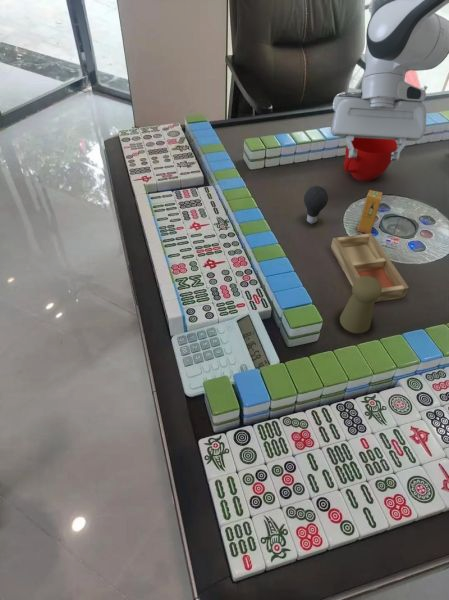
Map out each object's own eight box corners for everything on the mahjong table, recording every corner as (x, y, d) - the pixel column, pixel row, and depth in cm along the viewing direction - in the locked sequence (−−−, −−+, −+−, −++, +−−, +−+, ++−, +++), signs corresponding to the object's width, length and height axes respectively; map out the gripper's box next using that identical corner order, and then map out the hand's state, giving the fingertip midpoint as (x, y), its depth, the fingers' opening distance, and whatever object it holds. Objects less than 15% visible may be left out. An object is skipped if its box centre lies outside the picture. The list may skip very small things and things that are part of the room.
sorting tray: (368, 242, 102) (371, 232, 100) (404, 297, 90) (409, 287, 88) (330, 247, 101) (332, 237, 98) (362, 304, 89) (365, 294, 86)
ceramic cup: (321, 178, 120) (328, 145, 113) (358, 158, 128) (366, 125, 120) (359, 199, 114) (369, 164, 106) (395, 176, 121) (407, 142, 114)
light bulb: (326, 220, 107) (334, 186, 100) (316, 232, 104) (323, 197, 97) (306, 213, 110) (312, 178, 102) (295, 224, 106) (301, 189, 99)
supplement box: (372, 227, 106) (384, 192, 98) (369, 235, 104) (381, 200, 96) (359, 223, 107) (369, 188, 99) (356, 231, 105) (366, 196, 97)
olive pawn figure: (336, 310, 87) (348, 271, 79) (365, 309, 88) (380, 270, 80) (344, 334, 83) (357, 295, 75) (374, 332, 84) (391, 294, 76)
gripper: (337, 86, 92) (330, 154, 95) (433, 92, 92) (423, 160, 94) (331, 95, 98) (324, 158, 101) (421, 100, 98) (412, 163, 100)
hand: (373, 159), depth 98 cm, fingers open, 8 cm apart
